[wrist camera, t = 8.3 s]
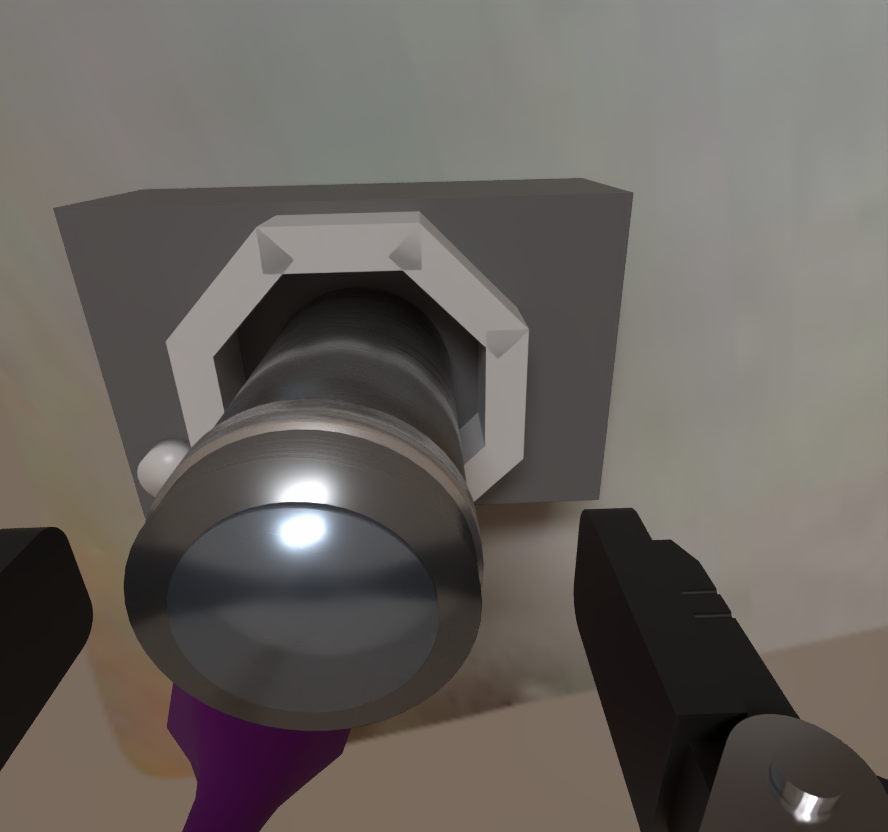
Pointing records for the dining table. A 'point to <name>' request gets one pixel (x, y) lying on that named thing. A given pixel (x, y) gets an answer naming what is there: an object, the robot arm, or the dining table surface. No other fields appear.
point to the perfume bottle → (244, 764)
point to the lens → (319, 530)
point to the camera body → (373, 266)
